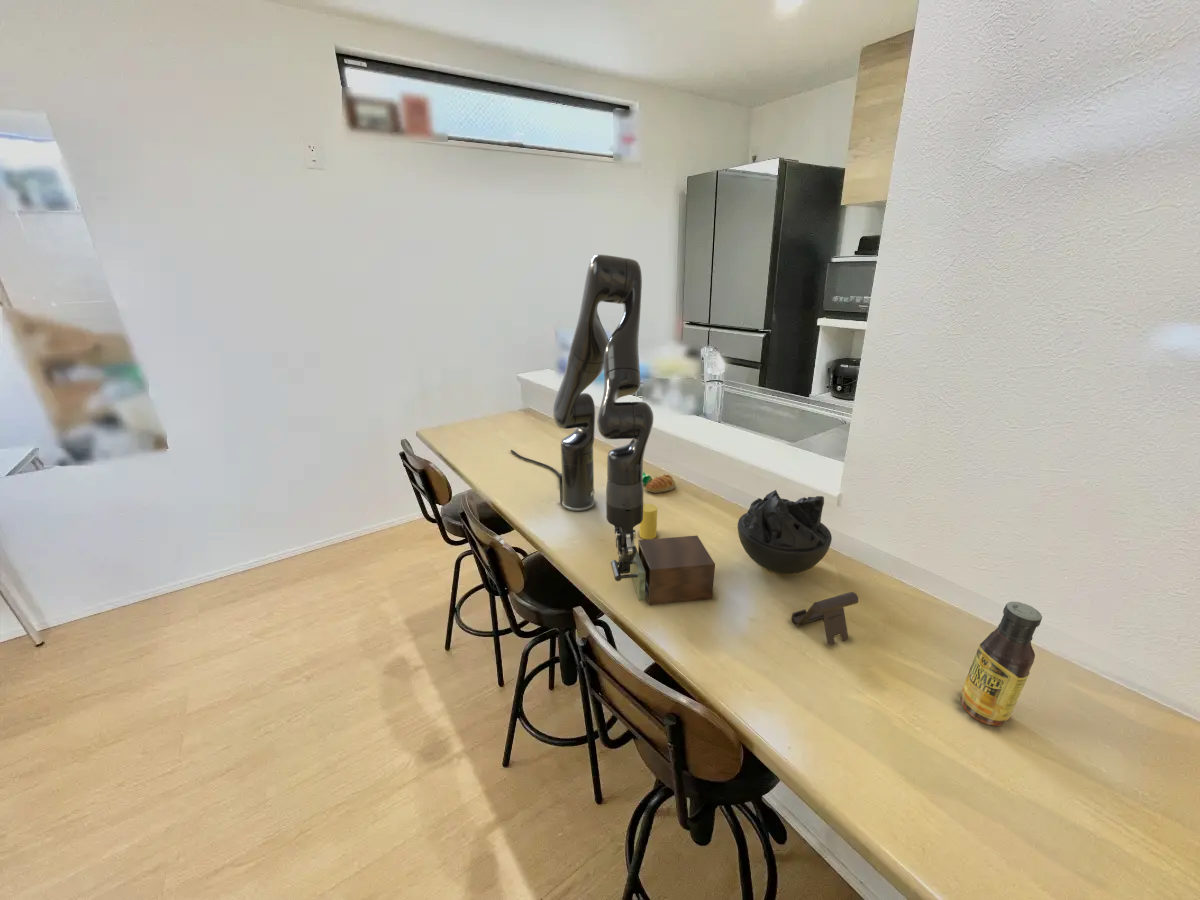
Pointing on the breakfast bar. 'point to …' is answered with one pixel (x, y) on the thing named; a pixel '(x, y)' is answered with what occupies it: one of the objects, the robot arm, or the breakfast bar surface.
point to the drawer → (635, 574)
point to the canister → (648, 522)
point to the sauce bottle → (1001, 666)
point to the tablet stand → (828, 615)
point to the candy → (646, 478)
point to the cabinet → (677, 569)
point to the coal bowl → (785, 533)
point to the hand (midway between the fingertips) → (624, 571)
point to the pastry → (661, 484)
